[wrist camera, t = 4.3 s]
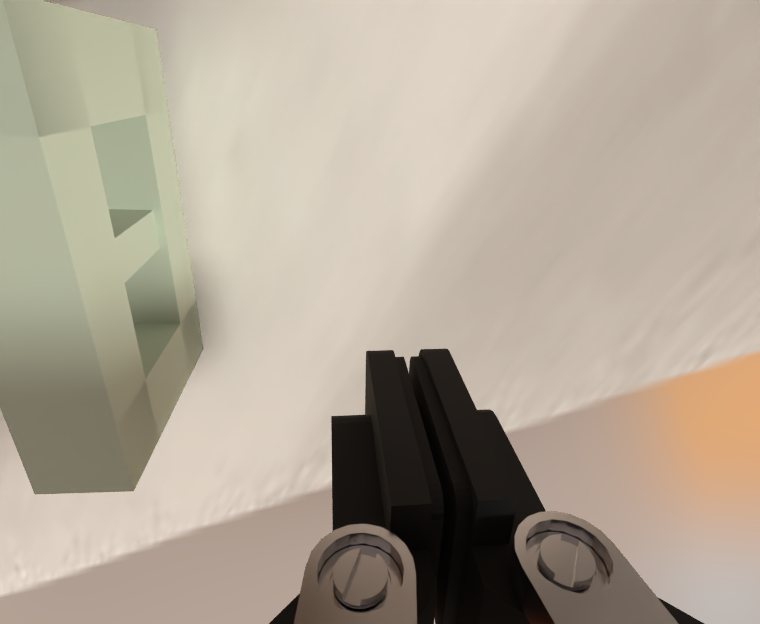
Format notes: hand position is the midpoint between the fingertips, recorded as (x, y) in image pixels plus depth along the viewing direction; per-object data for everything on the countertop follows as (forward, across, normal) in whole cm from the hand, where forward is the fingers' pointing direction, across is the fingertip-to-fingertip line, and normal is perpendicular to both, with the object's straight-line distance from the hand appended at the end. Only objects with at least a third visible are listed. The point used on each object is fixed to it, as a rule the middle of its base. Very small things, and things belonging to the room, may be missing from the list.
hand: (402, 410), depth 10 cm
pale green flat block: (+6, +7, -3) cm, 9 cm away
